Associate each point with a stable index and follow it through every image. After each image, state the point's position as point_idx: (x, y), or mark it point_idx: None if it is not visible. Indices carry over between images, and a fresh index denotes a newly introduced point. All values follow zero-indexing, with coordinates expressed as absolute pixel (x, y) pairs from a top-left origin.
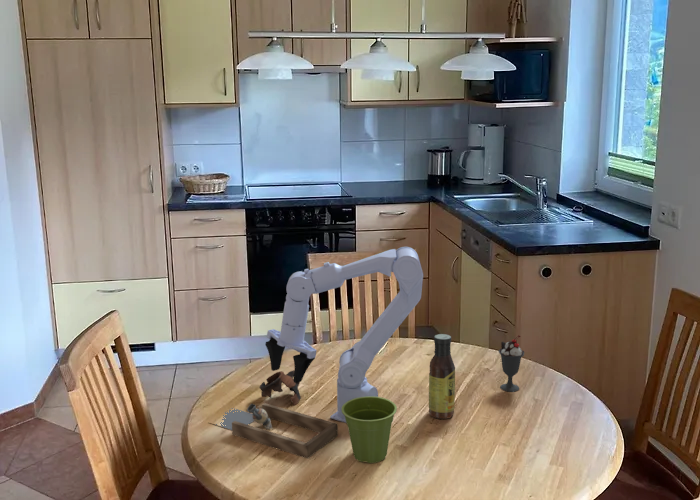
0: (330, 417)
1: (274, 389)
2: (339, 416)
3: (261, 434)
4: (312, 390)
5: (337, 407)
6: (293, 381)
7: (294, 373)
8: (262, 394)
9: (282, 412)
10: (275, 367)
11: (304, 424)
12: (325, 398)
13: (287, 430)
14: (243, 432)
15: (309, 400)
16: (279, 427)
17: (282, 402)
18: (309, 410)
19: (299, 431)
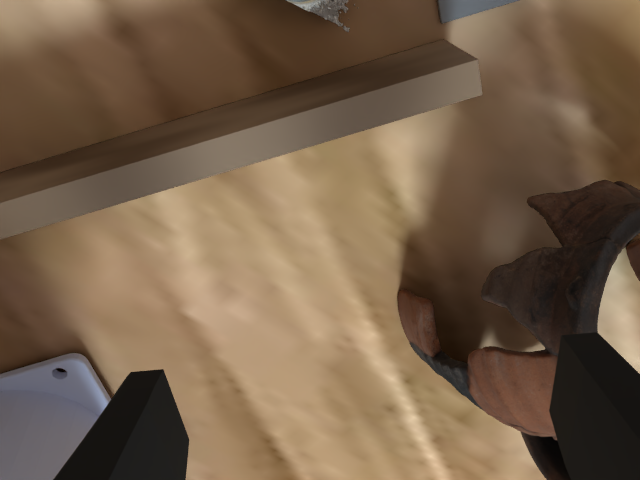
0: (77, 355)
1: (540, 259)
2: (28, 395)
3: None
4: (463, 451)
5: (67, 439)
6: (505, 419)
7: (106, 471)
8: (623, 187)
9: (254, 120)
10: (572, 394)
11: (47, 166)
12: (332, 453)
13: (107, 38)
14: None
15: (380, 384)
16: (192, 22)
17: (488, 261)
18: (272, 320)
19: (35, 99)
